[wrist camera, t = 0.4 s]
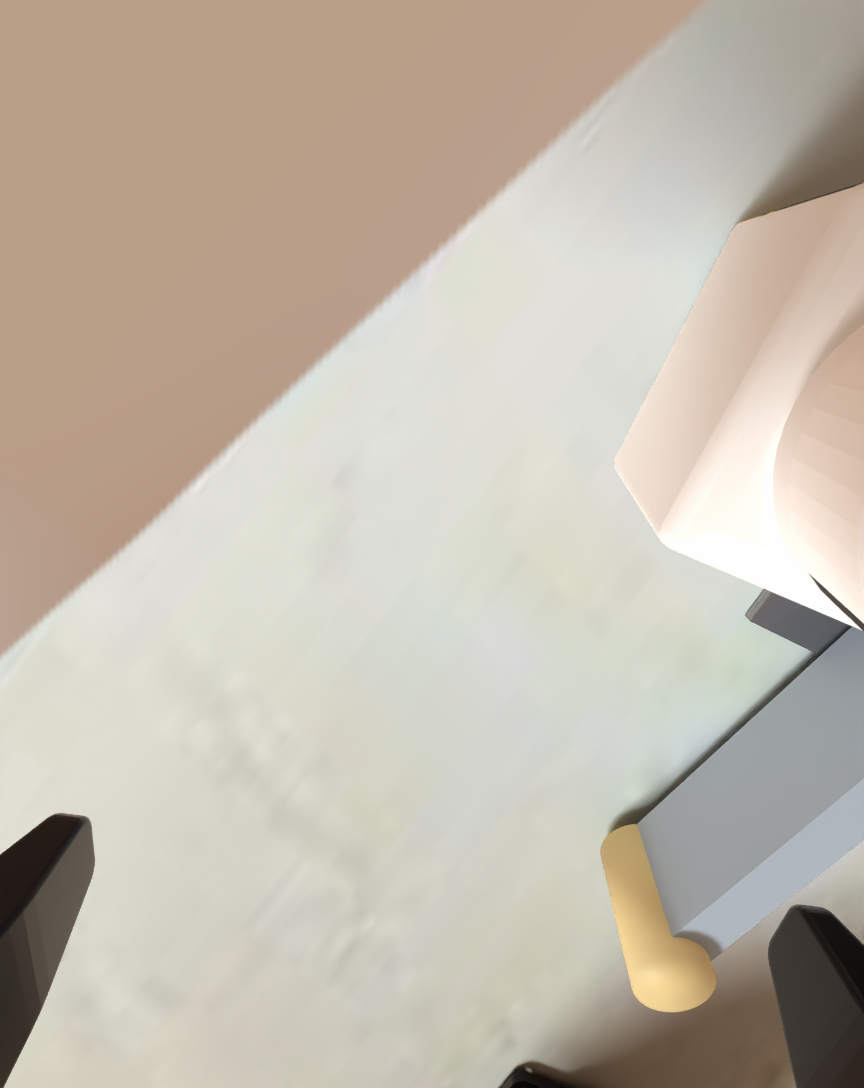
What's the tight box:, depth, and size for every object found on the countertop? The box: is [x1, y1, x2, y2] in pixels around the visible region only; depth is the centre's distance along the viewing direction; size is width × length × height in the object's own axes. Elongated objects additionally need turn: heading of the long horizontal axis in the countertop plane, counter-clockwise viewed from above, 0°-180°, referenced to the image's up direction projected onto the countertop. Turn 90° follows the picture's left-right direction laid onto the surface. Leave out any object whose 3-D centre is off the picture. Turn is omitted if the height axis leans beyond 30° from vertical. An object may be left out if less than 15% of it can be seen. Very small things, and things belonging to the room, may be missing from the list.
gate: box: [601, 626, 864, 1012], centre depth 21 cm, size 13×2×5 cm, turn 144°
